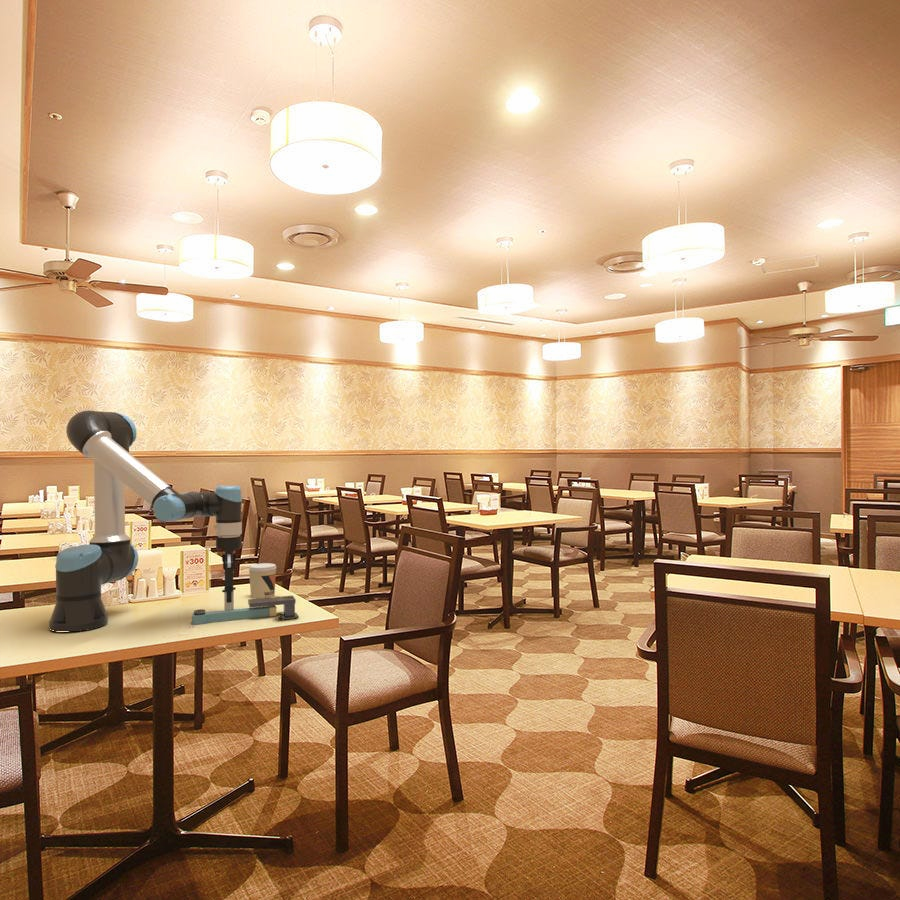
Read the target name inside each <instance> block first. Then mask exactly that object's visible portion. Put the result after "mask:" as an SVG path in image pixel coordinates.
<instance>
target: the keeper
mask: <svg viewBox="0 0 900 900" xmlns="http://www.w3.org/2000/svg"><path fill="white" fill-rule="evenodd" d="M296 603H297V602H296V597H295V596H294V595H284V596H282V595H281V596H273V597H270V598H258V599H257V598H250V599H249V598H248V599H247V604H248V606H249V607H248V608H253V607H263V606H272V605H275V606H280V605H282V606H283V613H280V614H279V618H280V617H281V618H280V619H282V620H283V621H285V620H284V619H292V620H295V619H294V618H300V616H299V615H298V612H296ZM282 620H281V621H282Z"/></svg>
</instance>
